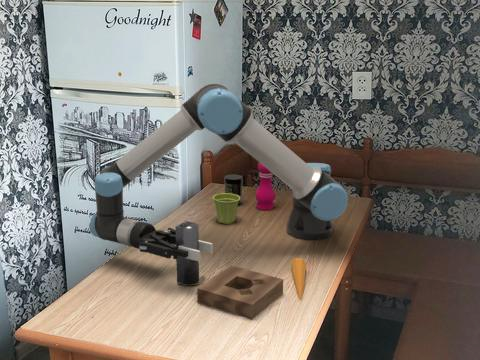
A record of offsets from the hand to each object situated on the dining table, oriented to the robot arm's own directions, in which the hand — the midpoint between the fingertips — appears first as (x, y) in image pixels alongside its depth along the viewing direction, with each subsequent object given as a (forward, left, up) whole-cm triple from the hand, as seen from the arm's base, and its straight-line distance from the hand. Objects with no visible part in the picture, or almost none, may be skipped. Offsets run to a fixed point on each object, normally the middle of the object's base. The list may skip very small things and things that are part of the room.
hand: (205, 252), depth 156 cm
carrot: (-25, +2, -11) cm, 27 cm away
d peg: (+4, -3, -10) cm, 11 cm away
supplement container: (-17, -66, -10) cm, 69 cm away
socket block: (-8, +7, -10) cm, 15 cm away
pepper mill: (-28, -60, -10) cm, 67 cm away
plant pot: (-12, -48, -10) cm, 51 cm away
